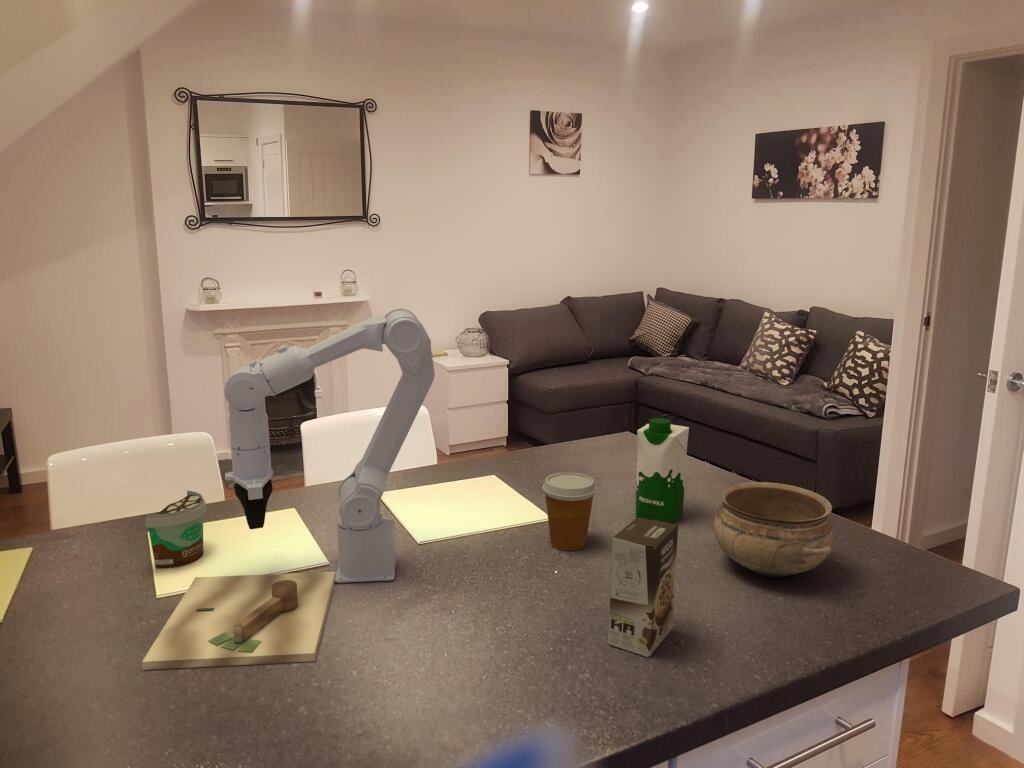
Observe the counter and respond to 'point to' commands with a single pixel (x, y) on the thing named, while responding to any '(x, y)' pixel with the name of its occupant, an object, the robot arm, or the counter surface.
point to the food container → (178, 532)
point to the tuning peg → (268, 609)
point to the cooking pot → (774, 527)
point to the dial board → (227, 600)
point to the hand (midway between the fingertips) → (256, 527)
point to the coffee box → (642, 585)
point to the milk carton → (661, 470)
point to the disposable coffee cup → (568, 509)
